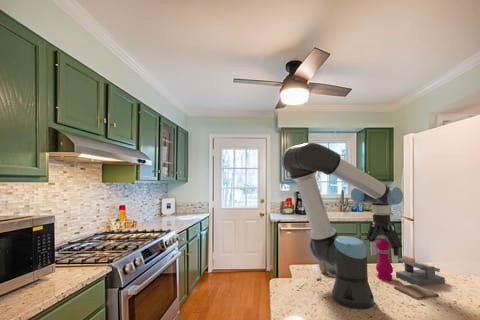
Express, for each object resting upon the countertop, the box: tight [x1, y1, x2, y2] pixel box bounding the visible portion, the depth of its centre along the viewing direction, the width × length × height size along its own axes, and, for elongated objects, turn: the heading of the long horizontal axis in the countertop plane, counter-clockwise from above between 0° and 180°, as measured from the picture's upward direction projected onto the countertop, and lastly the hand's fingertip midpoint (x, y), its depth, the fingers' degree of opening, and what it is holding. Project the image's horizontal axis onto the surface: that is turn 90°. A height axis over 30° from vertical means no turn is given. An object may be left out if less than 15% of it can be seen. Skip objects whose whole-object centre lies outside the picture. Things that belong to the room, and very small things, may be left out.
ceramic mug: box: [318, 260, 336, 278], centre depth 134 cm, size 11×8×8 cm
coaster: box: [393, 284, 440, 300], centre depth 110 cm, size 11×11×1 cm
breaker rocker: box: [398, 255, 441, 273], centre depth 124 cm, size 14×9×4 cm, turn 102°
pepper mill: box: [375, 235, 394, 282], centre depth 127 cm, size 7×7×20 cm
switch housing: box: [395, 262, 446, 287], centre depth 124 cm, size 15×13×8 cm
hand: (383, 258), depth 127 cm, fingers open, 13 cm apart
